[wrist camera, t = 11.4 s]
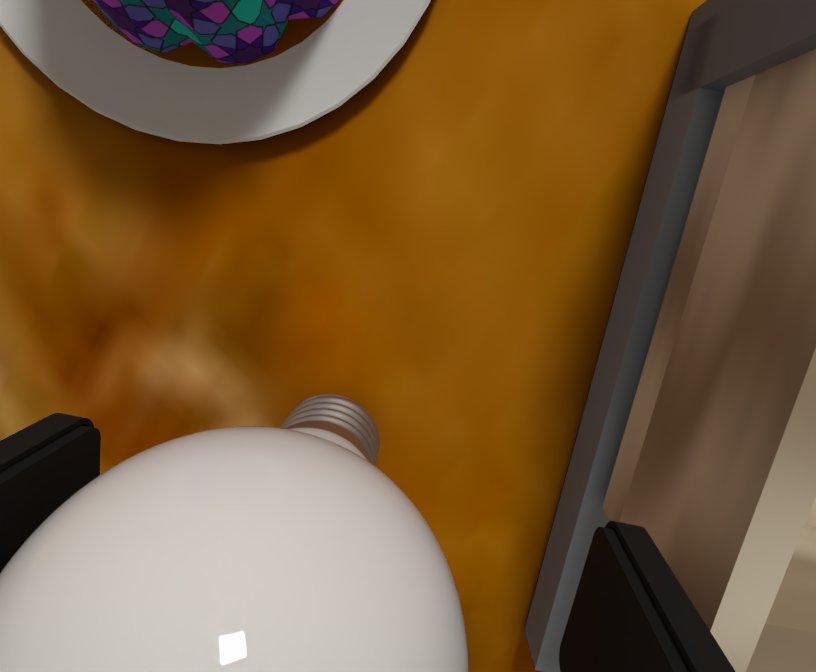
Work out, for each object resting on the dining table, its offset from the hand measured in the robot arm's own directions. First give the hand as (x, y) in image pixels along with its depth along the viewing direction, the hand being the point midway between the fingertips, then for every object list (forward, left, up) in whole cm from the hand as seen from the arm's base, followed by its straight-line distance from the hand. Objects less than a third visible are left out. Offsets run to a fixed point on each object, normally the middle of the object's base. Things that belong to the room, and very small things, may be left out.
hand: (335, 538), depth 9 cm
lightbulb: (0, +1, -6) cm, 6 cm away
